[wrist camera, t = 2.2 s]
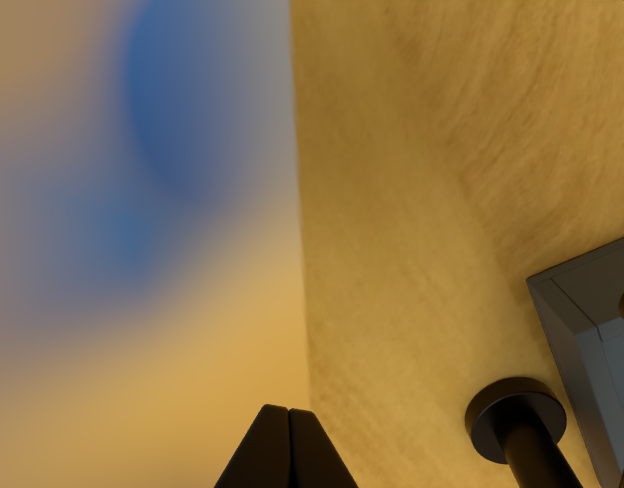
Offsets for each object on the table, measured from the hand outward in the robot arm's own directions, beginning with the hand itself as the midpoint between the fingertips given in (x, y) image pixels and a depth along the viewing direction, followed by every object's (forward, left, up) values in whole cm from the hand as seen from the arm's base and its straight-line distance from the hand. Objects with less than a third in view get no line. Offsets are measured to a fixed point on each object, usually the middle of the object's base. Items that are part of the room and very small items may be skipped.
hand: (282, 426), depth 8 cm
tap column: (+9, -12, -12) cm, 19 cm away
